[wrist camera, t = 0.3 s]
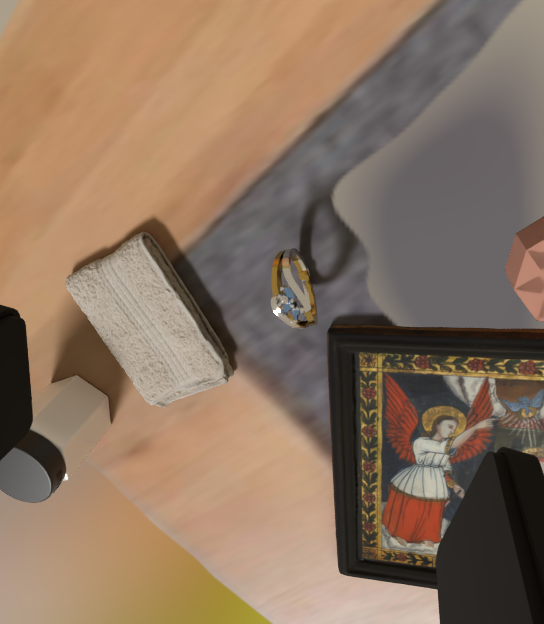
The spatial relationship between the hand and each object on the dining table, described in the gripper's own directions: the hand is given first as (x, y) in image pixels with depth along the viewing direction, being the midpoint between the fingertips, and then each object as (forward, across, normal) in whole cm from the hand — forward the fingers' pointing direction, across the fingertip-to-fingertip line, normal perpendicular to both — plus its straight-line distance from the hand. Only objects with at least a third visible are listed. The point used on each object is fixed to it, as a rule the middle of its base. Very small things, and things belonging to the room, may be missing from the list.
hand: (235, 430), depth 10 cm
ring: (+36, +2, +12) cm, 38 cm away
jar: (+36, +26, +36) cm, 57 cm away
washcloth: (+36, +17, +22) cm, 46 cm away
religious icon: (+37, -21, +29) cm, 51 cm away
